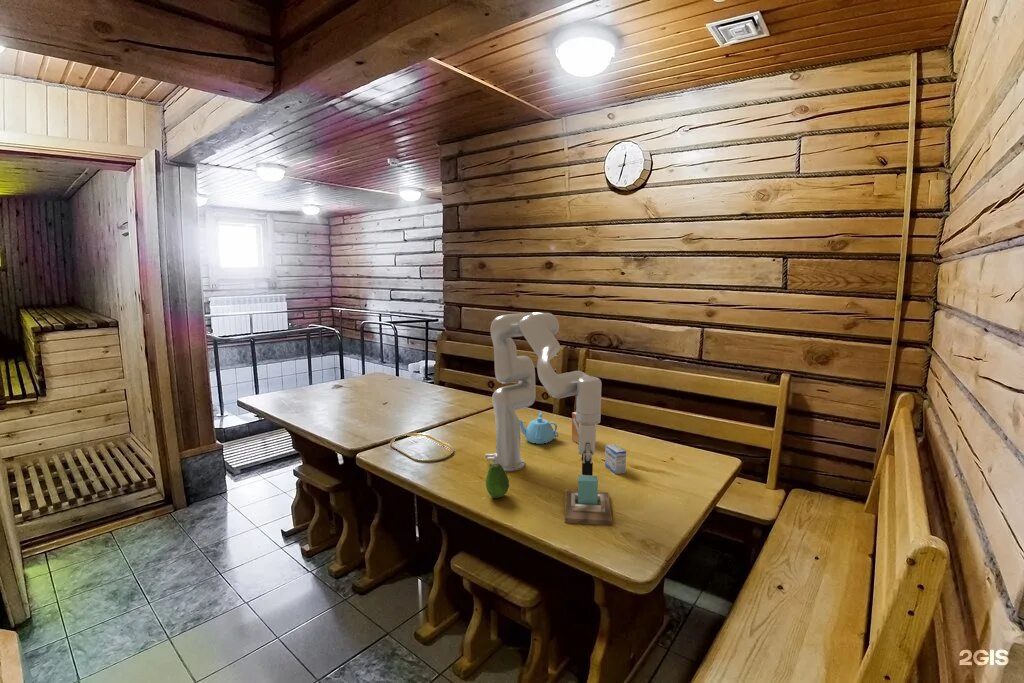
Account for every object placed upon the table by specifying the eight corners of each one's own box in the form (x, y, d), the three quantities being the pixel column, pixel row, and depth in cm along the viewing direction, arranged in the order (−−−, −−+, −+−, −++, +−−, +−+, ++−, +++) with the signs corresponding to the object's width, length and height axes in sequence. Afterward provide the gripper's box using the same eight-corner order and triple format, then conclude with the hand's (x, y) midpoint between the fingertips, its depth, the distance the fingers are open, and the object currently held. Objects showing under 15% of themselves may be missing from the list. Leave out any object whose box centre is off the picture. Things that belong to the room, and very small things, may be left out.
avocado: (481, 497, 164) (480, 463, 162) (498, 489, 169) (497, 456, 167) (497, 505, 158) (496, 470, 156) (514, 496, 164) (513, 463, 162)
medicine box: (604, 466, 186) (604, 445, 185) (614, 464, 188) (615, 443, 187) (615, 474, 179) (616, 452, 178) (626, 472, 181) (626, 450, 179)
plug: (578, 507, 153) (578, 480, 152) (578, 500, 157) (578, 474, 155) (597, 508, 152) (597, 481, 151) (596, 501, 156) (597, 475, 155)
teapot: (563, 440, 214) (563, 418, 212) (537, 449, 204) (537, 426, 203) (540, 432, 225) (540, 411, 223) (515, 439, 216) (515, 417, 214)
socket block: (565, 522, 147) (565, 513, 146) (566, 494, 164) (566, 486, 164) (611, 525, 145) (612, 515, 144) (608, 496, 163) (608, 487, 162)
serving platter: (419, 433, 227) (419, 430, 227) (462, 454, 201) (462, 451, 201) (382, 443, 215) (382, 440, 215) (423, 467, 189) (423, 463, 189)
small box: (571, 440, 214) (571, 412, 212) (583, 438, 216) (583, 410, 214) (581, 446, 207) (582, 417, 204) (594, 443, 209) (594, 415, 207)
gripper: (576, 407, 159) (575, 455, 162) (575, 425, 142) (574, 479, 145) (599, 407, 158) (597, 457, 161) (601, 426, 141) (600, 481, 144)
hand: (586, 467), depth 153 cm, fingers open, 9 cm apart
